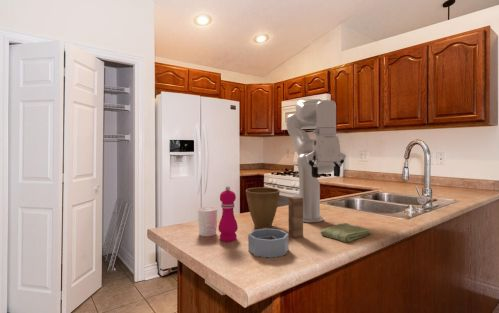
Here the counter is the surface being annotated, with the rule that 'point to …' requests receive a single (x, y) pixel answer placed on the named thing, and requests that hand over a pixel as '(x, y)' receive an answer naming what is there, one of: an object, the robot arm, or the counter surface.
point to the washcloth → (345, 232)
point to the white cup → (207, 221)
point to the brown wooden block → (295, 216)
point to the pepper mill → (227, 216)
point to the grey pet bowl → (268, 242)
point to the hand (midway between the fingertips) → (326, 176)
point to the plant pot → (262, 205)
